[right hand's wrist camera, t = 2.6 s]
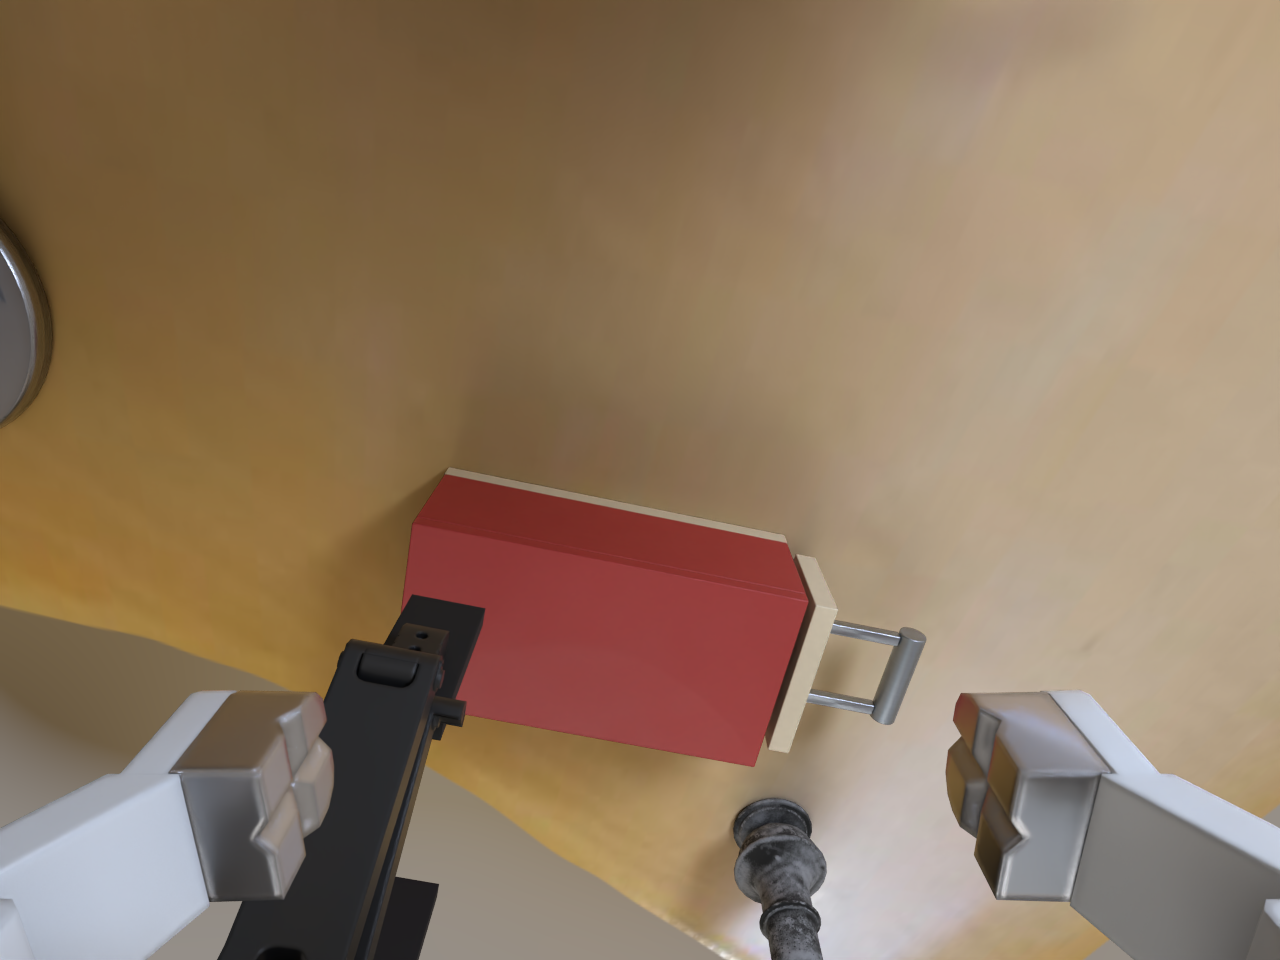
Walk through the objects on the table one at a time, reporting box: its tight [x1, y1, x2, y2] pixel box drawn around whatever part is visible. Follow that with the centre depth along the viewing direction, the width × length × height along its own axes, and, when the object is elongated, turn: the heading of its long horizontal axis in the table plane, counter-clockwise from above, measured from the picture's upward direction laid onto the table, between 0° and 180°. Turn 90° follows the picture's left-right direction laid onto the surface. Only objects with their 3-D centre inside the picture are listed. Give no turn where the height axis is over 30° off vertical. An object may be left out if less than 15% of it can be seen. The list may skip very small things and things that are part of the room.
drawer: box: [765, 554, 926, 753], centre depth 45 cm, size 25×9×6 cm, turn 78°
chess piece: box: [733, 798, 827, 960], centre depth 50 cm, size 6×6×12 cm
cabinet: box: [401, 467, 809, 767], centre depth 45 cm, size 20×10×8 cm, turn 78°
